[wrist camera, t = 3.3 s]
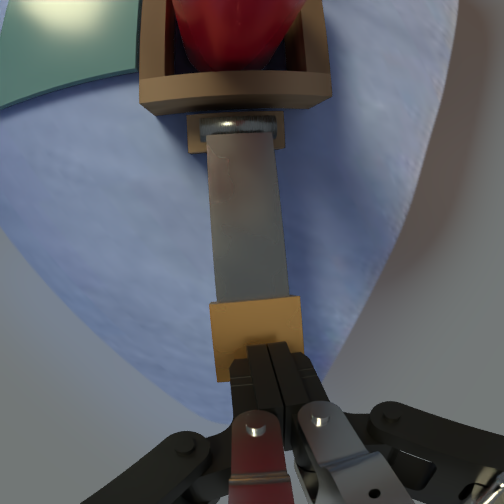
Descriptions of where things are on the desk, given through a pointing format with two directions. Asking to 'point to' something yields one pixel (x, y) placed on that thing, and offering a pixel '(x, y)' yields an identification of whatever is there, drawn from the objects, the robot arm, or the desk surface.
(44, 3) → the coaster
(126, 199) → the desk surface
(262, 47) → the bottle
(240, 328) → the lever
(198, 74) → the holder
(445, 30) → the desk surface
